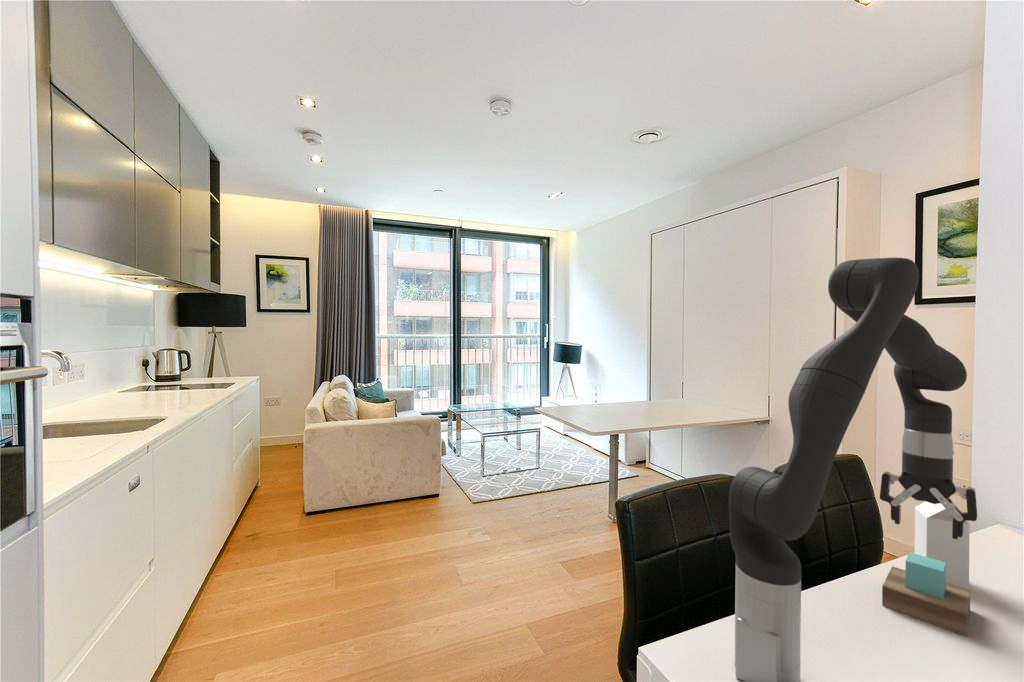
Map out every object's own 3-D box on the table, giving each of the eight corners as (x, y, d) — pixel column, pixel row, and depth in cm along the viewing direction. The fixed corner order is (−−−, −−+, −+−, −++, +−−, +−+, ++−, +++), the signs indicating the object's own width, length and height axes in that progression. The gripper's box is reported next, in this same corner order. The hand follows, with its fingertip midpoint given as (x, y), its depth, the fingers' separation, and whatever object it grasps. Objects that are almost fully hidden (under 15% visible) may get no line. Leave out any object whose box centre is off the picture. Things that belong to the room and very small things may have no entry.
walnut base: (966, 636, 79) (967, 614, 79) (882, 605, 88) (882, 586, 88) (969, 609, 86) (970, 590, 86) (892, 583, 96) (892, 566, 96)
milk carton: (926, 583, 96) (926, 500, 96) (914, 568, 102) (914, 490, 102) (969, 592, 93) (970, 506, 93) (954, 576, 99) (955, 495, 99)
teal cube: (943, 599, 83) (943, 571, 83) (905, 587, 87) (905, 560, 87) (945, 588, 87) (945, 562, 87) (909, 577, 91) (909, 552, 91)
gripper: (878, 447, 90) (877, 523, 90) (977, 463, 79) (975, 549, 79) (884, 442, 95) (883, 514, 95) (978, 456, 84) (977, 537, 84)
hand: (925, 530), depth 87 cm, fingers open, 8 cm apart
